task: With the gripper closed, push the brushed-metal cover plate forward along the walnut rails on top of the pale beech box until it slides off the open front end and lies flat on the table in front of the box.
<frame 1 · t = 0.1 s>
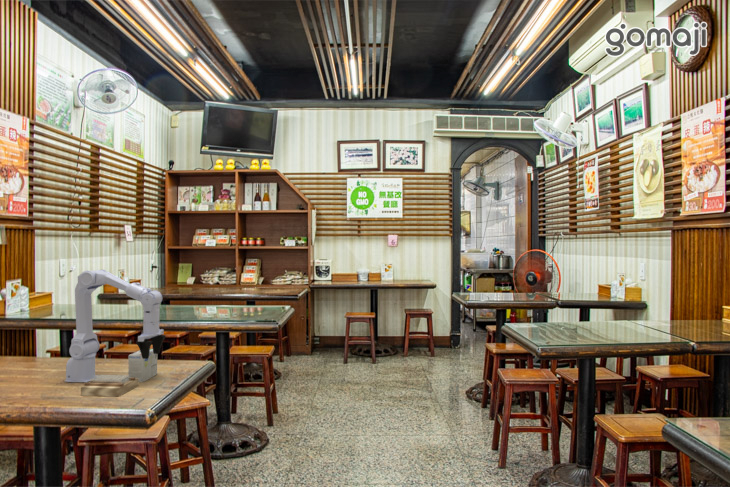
hand: (151, 356, 172), 10 cm above the table, tool pointing down, fingers open, 7 cm apart
cover plate: (110, 382, 160), point 3 cm above the table, touching slide box
slide box: (110, 390, 160), on the table
light bulb box: (143, 378, 176), on the table
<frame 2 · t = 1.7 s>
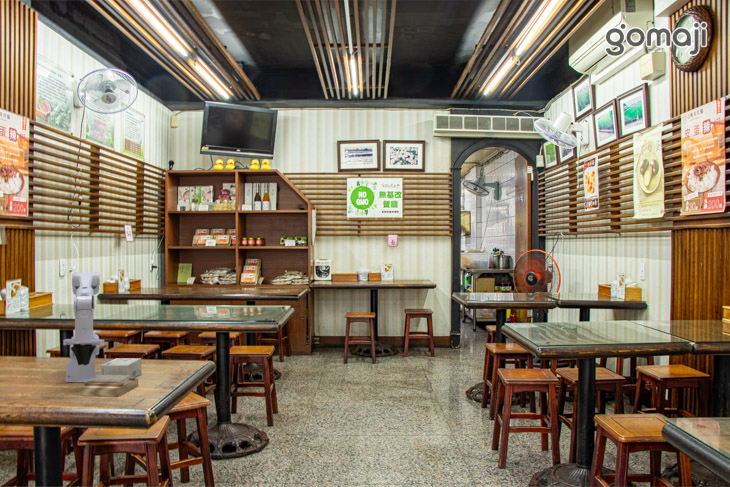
hand: (83, 364, 161), 9 cm above the table, tool pointing down, fingers closed
light bulb box: (135, 369, 176), point 3 cm above the table
everything else where it was.
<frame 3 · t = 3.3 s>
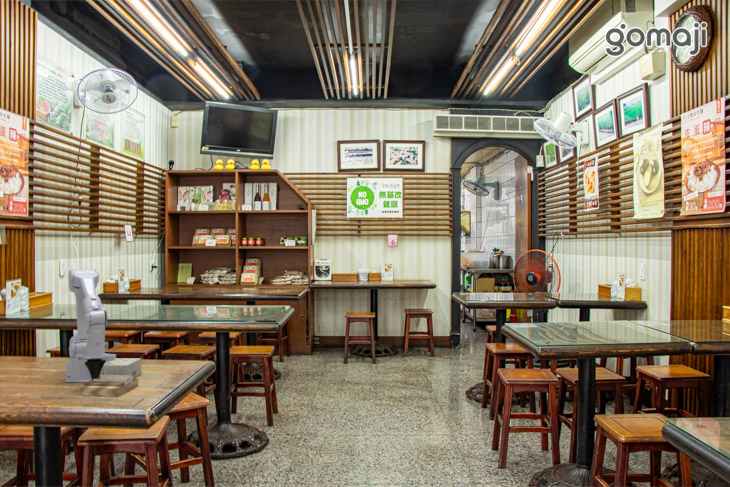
hand: (95, 379, 161), 4 cm above the table, tool pointing down, fingers closed
cover plate: (113, 382, 160), point 3 cm above the table, touching slide box
everything else where it was.
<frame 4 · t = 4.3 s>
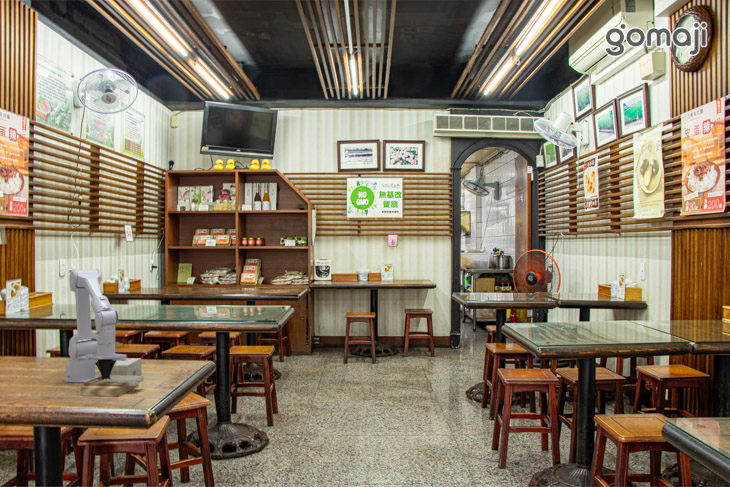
hand: (105, 379, 160), 4 cm above the table, tool pointing down, fingers closed
cover plate: (123, 382, 160), point 3 cm above the table, touching gripper
everything else where it was.
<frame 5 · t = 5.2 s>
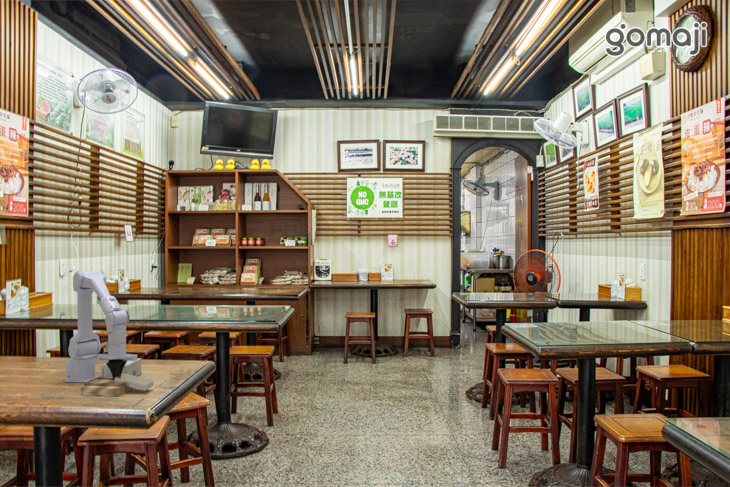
hand: (116, 379, 160), 4 cm above the table, tool pointing down, fingers closed
cover plate: (133, 384, 160), point 3 cm above the table, tilted 13°, touching gripper
everything else where it was.
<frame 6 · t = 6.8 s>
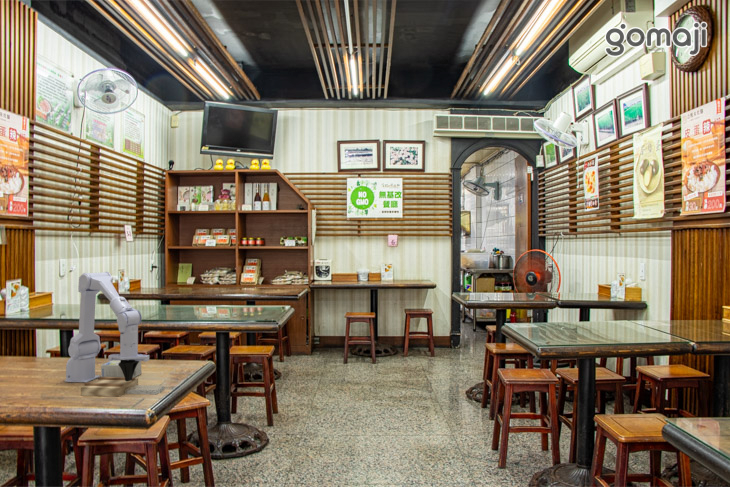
hand: (128, 380, 160), 4 cm above the table, tool pointing down, fingers closed
cover plate: (144, 393, 159), on the table
everything else where it was.
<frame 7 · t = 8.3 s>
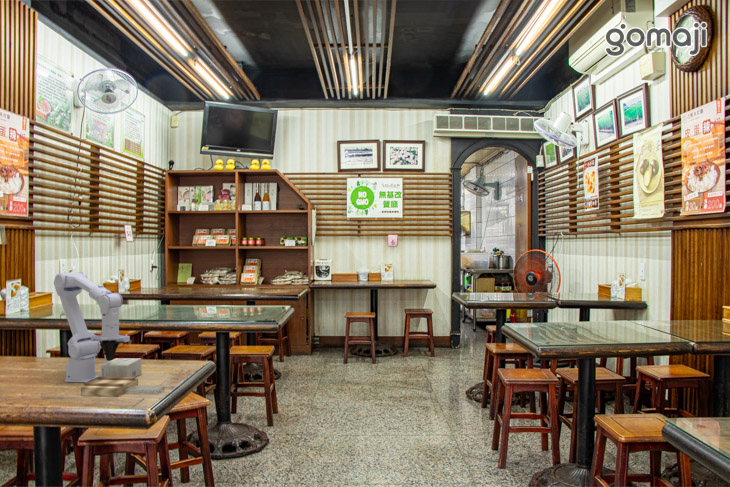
hand: (110, 360, 168), 9 cm above the table, tool pointing down, fingers closed
nothing on the table moved.
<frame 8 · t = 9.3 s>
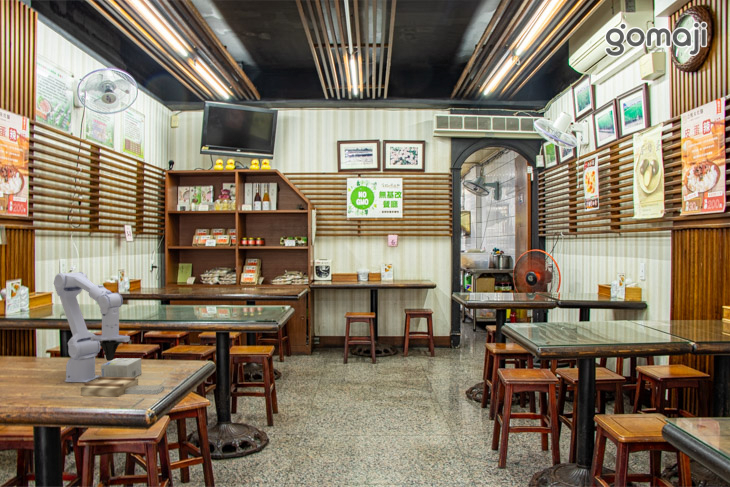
hand: (110, 360, 168), 9 cm above the table, tool pointing down, fingers closed
nothing on the table moved.
at the end: cover plate inside the target area (1.3 cm from its centre), on the table; cover plate on the table; cover plate tilted 0° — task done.
